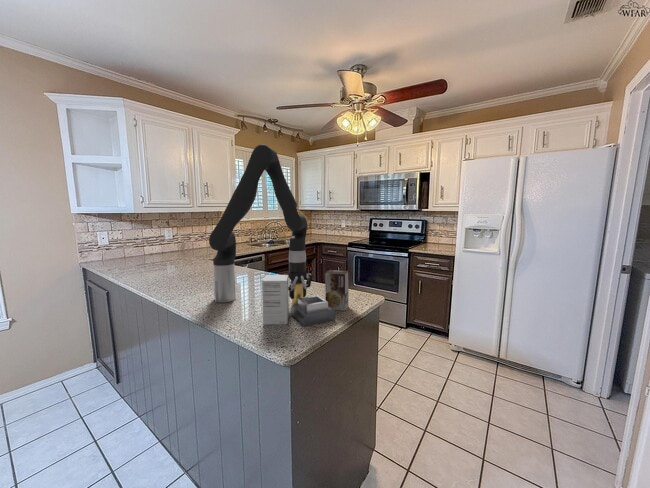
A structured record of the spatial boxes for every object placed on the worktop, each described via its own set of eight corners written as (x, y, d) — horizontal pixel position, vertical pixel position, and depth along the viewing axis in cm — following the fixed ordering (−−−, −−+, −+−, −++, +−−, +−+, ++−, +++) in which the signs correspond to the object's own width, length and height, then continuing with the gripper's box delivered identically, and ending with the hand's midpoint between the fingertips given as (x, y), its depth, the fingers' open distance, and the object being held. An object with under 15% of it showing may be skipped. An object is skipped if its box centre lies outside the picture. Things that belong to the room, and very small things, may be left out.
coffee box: (348, 306, 121) (349, 270, 119) (345, 311, 115) (345, 274, 113) (329, 304, 124) (329, 269, 122) (324, 308, 117) (324, 272, 116)
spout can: (294, 307, 119) (294, 285, 118) (288, 302, 125) (288, 281, 124) (305, 305, 121) (305, 283, 120) (299, 301, 128) (298, 280, 126)
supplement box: (266, 315, 110) (265, 274, 108) (289, 314, 111) (288, 274, 109) (262, 325, 100) (261, 280, 98) (287, 324, 101) (287, 280, 99)
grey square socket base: (304, 326, 100) (303, 307, 99) (291, 314, 111) (291, 297, 110) (334, 320, 105) (335, 302, 105) (320, 309, 117) (320, 293, 116)
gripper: (308, 257, 126) (308, 293, 129) (279, 260, 120) (279, 297, 122) (315, 260, 120) (315, 297, 122) (284, 263, 113) (285, 302, 115)
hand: (297, 297), depth 122 cm, fingers closed on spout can, 5 cm apart
